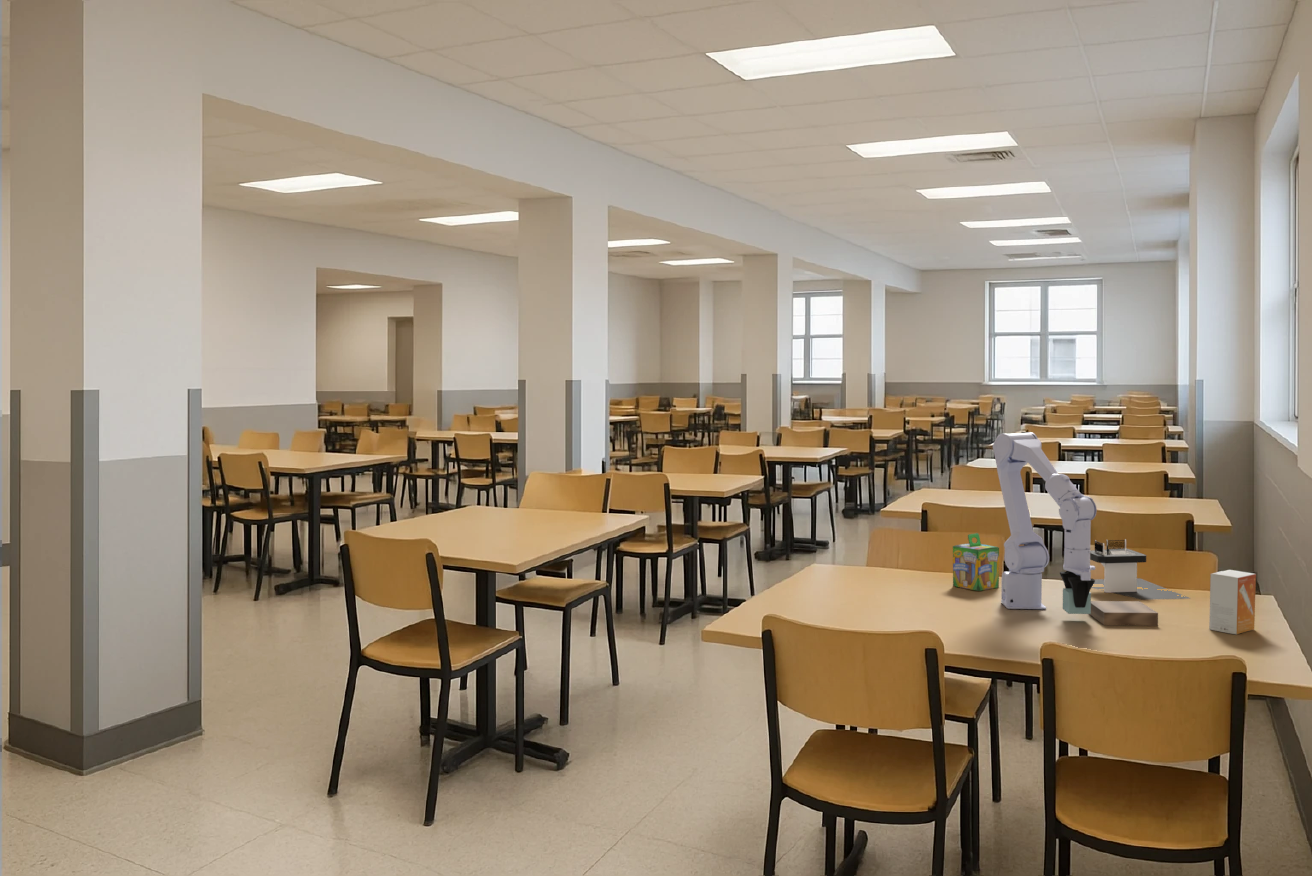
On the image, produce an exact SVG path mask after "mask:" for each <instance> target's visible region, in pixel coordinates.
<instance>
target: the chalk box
mask: <svg viewBox="0 0 1312 876" xmlns="http://www.w3.org/2000/svg"><path fill="white" fill-rule="evenodd" d="M973 538H974V539H976V542H973ZM967 540H968V543H962V544H956V545H952V587H953V586H956V587H955V588H958V587H960V589H967V590H972V591H977V592H982V591H987V590H993V589H998V588H1000V582H999V581H1000V577H999V576H1000V547H998V546H993V545H989V544H982V543H981V537H980V534H979V533H978V532H975V533H970V534H969V533H968V534H967Z"/></svg>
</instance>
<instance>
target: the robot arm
mask: <svg viewBox="0 0 1312 876" xmlns="http://www.w3.org/2000/svg"><path fill="white" fill-rule="evenodd" d="M1042 447H1043V446H1042V441H1041V440H1040V439H1039V438H1038V436H1037V434H1035V432H1031V431H1027V432H1018V433H1015V432H1014V433H1005V432H1003V433H1000V434H998V435H997V436H996V438H995V440H994V442H993V444H992V450H993V454H994V459H995V464H996V471H997V476H998V480H999V485H1000V486H999V487H1000V489H1001V494H1002V500H1003V504H1004V508H1005V513H1006V518H1007V521H1008V527H1009V531H1010V536H1009V537H1008V538H1007V540H1005V541H1004V543H1003V547H1004V556H1003V558H1004V562H1005V566H1006V567H1007V568H1008V571H1003V572H1002V573H1001V594H1000V595H1001V599H1000V602H1001V604H1002V605H1003V606H1004V607H1005V608H1006V609H1009V610H1011V609H1012V610H1019V609H1020V610H1046V609H1047V606H1045V605H1044V604H1043V603H1042V600H1043V599H1042V593H1043V592H1042V591H1043V589H1042V588H1043V587H1042V586H1043V585H1042V584H1043V583H1042V582H1043V578H1042V576H1043V574H1042V573H1044V572H1045V568H1046V567H1047V566H1048V565H1049V562H1050V554H1049V553H1050V552H1049V551H1048V549H1047V547H1046V545H1045V543H1044V539H1043V538H1042V537H1041V535H1038V534H1037V533H1036V532H1035V531H1034V529H1033V524H1032V519H1031V515H1030V511H1029V507H1028V501H1027V497H1026V492H1025V489H1024V483H1023V479H1022V475H1021V474H1022V473H1021V471H1022V469H1023V468H1024V467H1025V466H1026V465H1027V464H1029V466H1031V467H1032V469H1033V470H1034V471H1035V472H1036V473H1037V474H1038V475H1039V476H1040V477H1041V478H1042V480H1043V481H1044V482H1045V484H1044V489H1045V490H1046V491H1047V493H1048V494H1049V495H1050V497H1051V498H1052V499H1053V501H1054V502H1055V503H1056V504H1057V506H1058V507H1059V508H1058V513H1059V514H1058V515H1059V517H1060V519H1061V521H1062V528H1063V529H1064V540H1063V541H1064V548H1063V549H1064V551H1063V558H1064V559H1063V566H1062V567H1063V568H1062V569H1063V570H1064V571H1059V575H1060V577H1061V579H1062V580H1063V581H1062V582H1063V584H1064V588H1072V591H1073V598H1074V604H1075V607H1077V608H1085V606H1086V602H1087V598H1088V595H1089V592H1090V591H1091V590H1092V588H1091V587H1092V586H1093V584H1094V582H1095V580H1094V578H1091V577H1092V573H1091V571H1095V570H1096V566H1095V565H1091V560H1090V551H1091V529H1092V528H1091V527H1092V520H1094V519H1095V518H1096V516H1097V510H1098V509H1097V505H1096V503H1095V501H1094V500H1093V499H1094V498H1092V497H1090V496H1088V495H1085V494H1084V493H1081V492H1080V491H1079V490H1078V488H1077V487H1076V486H1075V485H1074V483H1073V482H1072V481H1071V480H1070V479H1071V478H1070V477H1069V476H1068V475H1066V474H1064V473H1058V472H1057V470H1056V469H1055V466H1054V465H1053V464H1052V462H1051V461H1050V459H1049V458H1048V457H1047V455H1046V454H1045V452H1044V450H1043V449H1042ZM1090 593H1091V592H1090Z"/></svg>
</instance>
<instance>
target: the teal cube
mask: <svg viewBox="0 0 1312 876" xmlns="http://www.w3.org/2000/svg"><path fill="white" fill-rule="evenodd" d="M1091 601H1092V592H1089V595H1088V598H1087V602H1086V606H1085V608H1077V607H1075V604H1074V598H1073V591H1072V588H1065V587H1063V588H1062V609H1063V611H1064V612H1066V613H1067V614H1069V615H1090V614H1091Z"/></svg>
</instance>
